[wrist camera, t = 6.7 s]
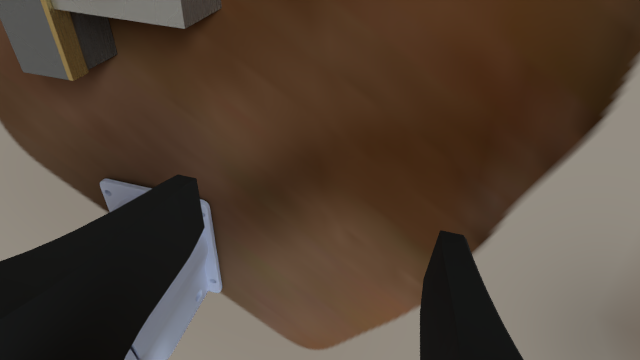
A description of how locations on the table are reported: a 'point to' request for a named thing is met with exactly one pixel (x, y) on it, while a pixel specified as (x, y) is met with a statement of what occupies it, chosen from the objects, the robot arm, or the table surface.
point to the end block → (56, 38)
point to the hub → (145, 10)
